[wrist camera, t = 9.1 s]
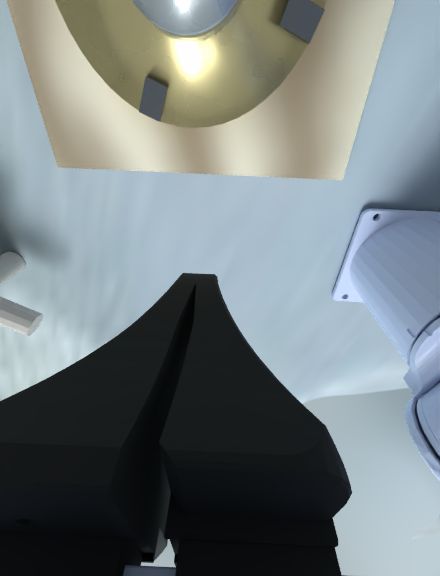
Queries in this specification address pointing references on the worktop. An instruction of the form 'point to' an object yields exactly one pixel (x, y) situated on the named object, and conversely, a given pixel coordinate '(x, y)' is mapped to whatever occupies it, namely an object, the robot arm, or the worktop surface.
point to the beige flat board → (220, 138)
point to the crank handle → (192, 52)
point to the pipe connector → (11, 312)
